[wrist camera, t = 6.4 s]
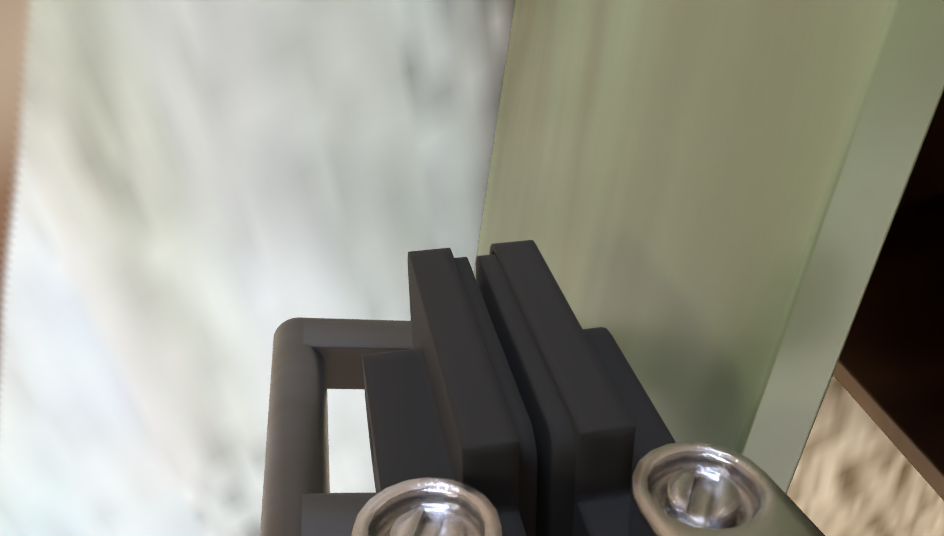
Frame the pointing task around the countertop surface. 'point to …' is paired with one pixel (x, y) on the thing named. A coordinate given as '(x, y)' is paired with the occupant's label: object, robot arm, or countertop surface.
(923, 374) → the cupboard
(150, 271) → the countertop surface
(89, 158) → the countertop surface
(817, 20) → the cupboard door
